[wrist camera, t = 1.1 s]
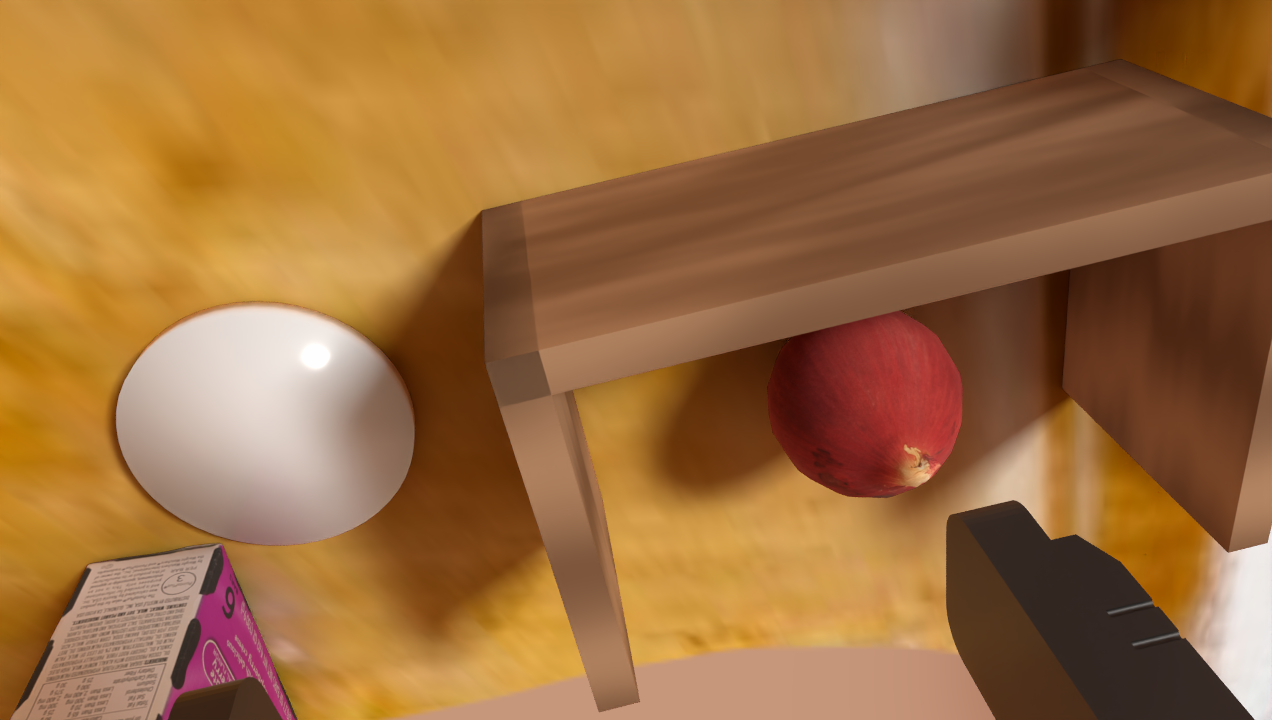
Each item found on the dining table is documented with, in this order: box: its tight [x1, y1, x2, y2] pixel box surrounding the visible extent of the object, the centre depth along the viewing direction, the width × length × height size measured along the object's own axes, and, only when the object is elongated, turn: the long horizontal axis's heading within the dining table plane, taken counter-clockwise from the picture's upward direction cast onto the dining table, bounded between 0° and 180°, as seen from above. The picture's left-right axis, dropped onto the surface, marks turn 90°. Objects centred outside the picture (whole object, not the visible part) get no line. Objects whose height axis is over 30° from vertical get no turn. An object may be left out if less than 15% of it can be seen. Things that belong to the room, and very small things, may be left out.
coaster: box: [116, 301, 415, 545], centre depth 30 cm, size 9×9×1 cm
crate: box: [482, 59, 1272, 712], centre depth 28 cm, size 12×20×9 cm, turn 101°
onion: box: [767, 311, 963, 498], centre depth 29 cm, size 6×6×8 cm
